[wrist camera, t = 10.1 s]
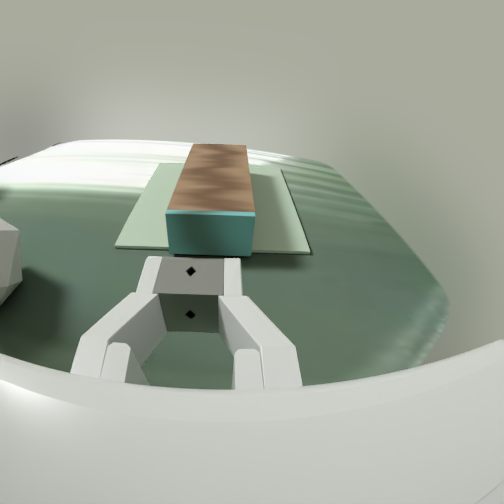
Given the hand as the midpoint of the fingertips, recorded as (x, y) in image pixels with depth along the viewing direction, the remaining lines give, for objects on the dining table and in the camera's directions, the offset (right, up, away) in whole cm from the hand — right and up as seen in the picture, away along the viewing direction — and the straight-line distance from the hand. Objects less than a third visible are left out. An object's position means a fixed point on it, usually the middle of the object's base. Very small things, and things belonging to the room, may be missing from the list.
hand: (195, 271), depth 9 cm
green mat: (-2, +7, +23) cm, 24 cm away
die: (-21, -3, +8) cm, 23 cm away
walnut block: (-2, +2, +13) cm, 14 cm away
